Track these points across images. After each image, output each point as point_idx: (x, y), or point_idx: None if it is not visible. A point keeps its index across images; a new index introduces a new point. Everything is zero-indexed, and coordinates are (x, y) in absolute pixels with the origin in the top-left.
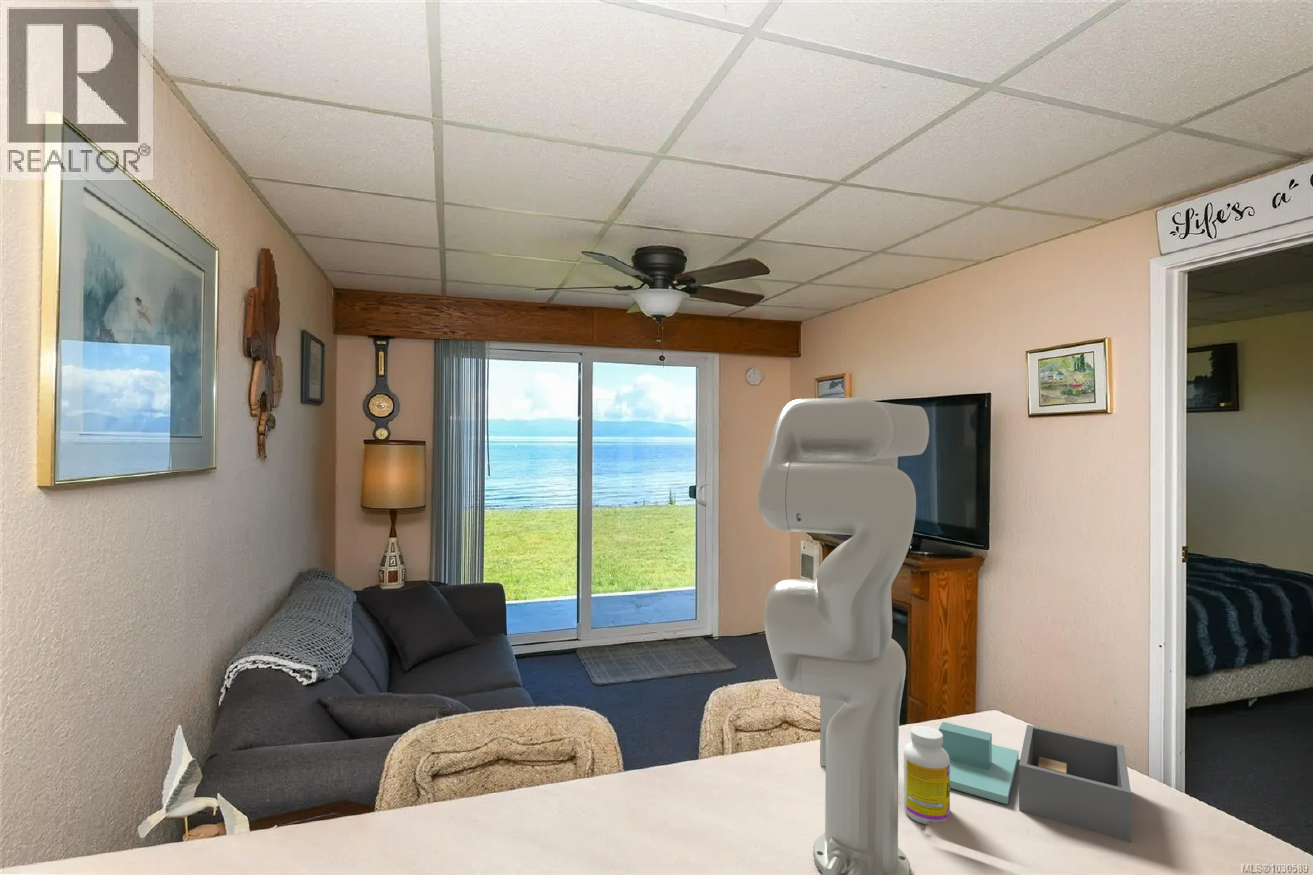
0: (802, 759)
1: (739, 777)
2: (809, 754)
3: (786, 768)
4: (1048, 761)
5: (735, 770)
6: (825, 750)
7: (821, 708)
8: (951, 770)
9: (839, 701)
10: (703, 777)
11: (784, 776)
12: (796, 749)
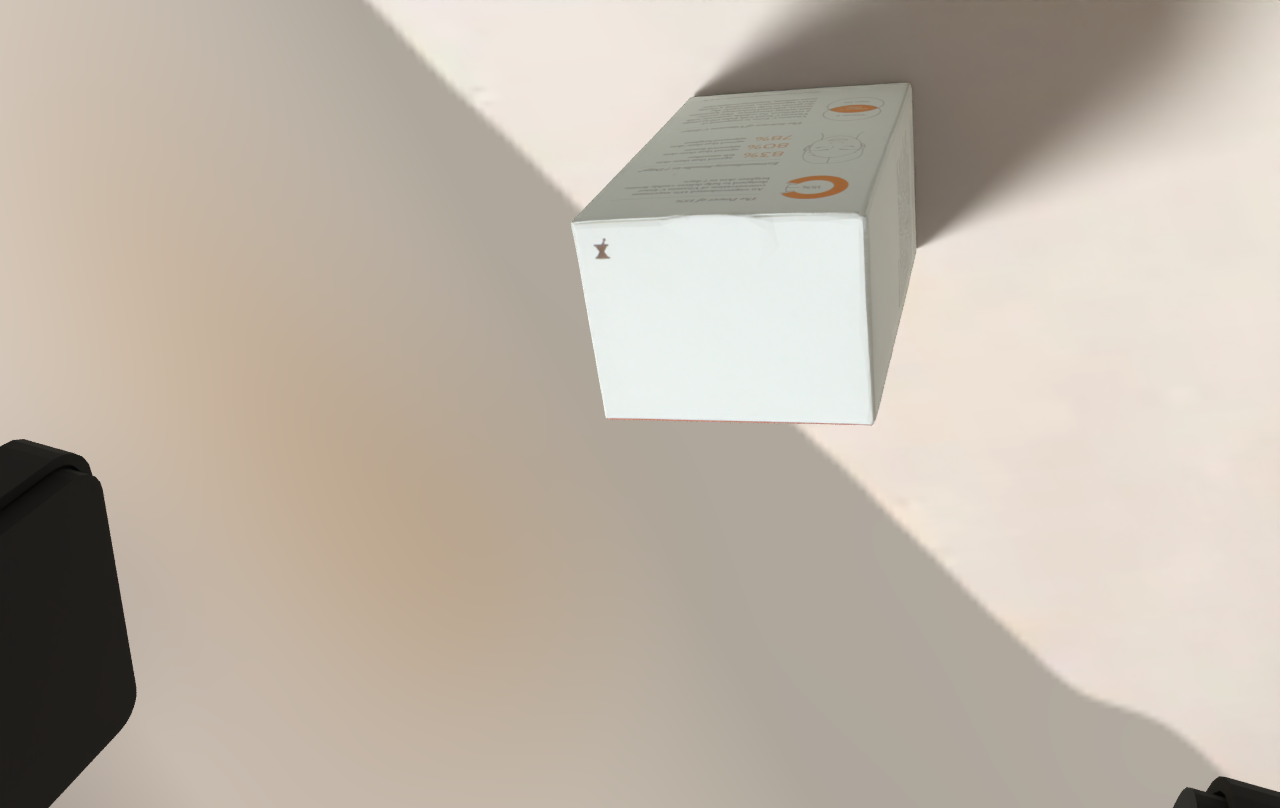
0: None
1: (1173, 553)
2: None
3: (1007, 387)
4: None
5: (1113, 575)
6: (909, 256)
7: (886, 375)
8: None
9: (877, 300)
10: (1226, 675)
11: (1091, 386)
12: None
